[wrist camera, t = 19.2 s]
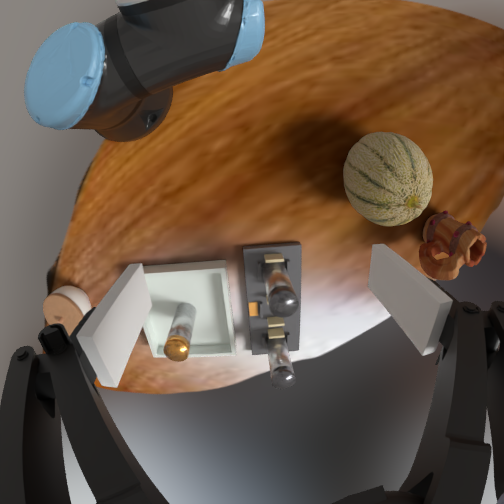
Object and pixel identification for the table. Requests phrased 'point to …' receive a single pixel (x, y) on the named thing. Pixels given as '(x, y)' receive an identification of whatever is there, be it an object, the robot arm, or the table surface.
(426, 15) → the table surface
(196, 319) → the tray
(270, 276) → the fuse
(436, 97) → the table surface
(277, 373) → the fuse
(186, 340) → the marked fuse
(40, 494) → the robot arm
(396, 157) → the cantaloupe
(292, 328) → the fuse holder
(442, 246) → the mug
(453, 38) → the table surface
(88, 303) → the lidded jar
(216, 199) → the table surface
